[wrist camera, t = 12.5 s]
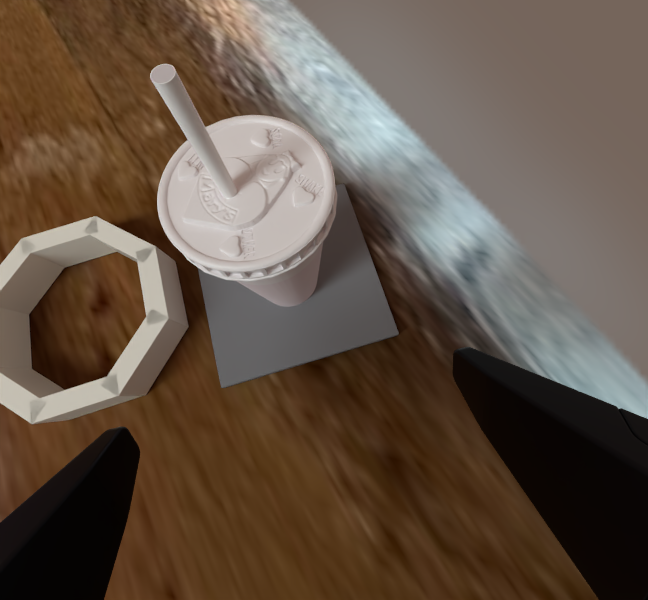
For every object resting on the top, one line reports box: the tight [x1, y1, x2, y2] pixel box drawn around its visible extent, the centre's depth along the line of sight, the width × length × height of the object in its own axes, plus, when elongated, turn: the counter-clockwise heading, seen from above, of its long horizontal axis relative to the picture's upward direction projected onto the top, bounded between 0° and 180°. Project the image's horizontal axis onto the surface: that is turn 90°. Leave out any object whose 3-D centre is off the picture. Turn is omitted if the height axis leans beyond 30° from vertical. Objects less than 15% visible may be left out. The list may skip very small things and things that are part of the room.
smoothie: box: [150, 64, 337, 307], centre depth 14 cm, size 6×6×14 cm
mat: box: [198, 183, 399, 388], centre depth 21 cm, size 11×11×1 cm
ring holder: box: [0, 216, 189, 424], centre depth 20 cm, size 12×11×2 cm
